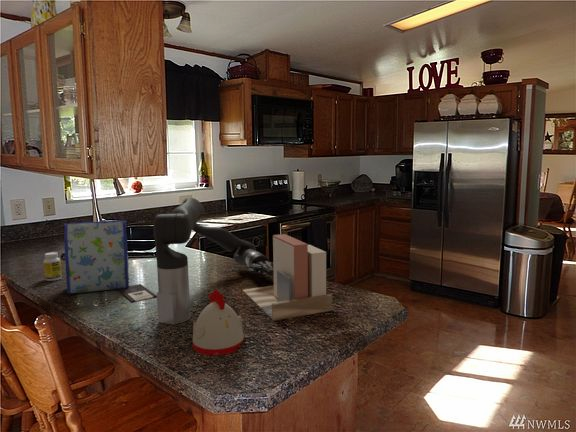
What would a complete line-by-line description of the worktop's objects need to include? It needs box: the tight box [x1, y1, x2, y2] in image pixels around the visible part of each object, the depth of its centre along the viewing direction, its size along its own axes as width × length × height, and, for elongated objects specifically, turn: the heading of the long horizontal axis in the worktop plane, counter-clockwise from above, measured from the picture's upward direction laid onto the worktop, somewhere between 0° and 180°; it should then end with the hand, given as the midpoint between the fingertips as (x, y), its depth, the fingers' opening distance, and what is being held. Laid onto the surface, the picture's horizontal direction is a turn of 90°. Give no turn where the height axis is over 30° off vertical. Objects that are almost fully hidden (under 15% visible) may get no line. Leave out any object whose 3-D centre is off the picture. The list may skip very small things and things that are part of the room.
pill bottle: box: [43, 251, 63, 282], centre depth 178 cm, size 6×6×11 cm
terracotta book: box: [272, 233, 309, 300], centre depth 142 cm, size 18×5×22 cm, turn 24°
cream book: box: [308, 244, 327, 297], centre depth 141 cm, size 12×5×19 cm, turn 23°
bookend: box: [261, 270, 291, 319], centre depth 136 cm, size 10×6×12 cm, turn 23°
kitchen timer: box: [192, 289, 245, 356], centre depth 116 cm, size 14×14×15 cm
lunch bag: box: [63, 219, 130, 294], centre depth 166 cm, size 22×17×26 cm
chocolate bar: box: [116, 283, 157, 303], centre depth 160 cm, size 9×1×18 cm
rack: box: [242, 284, 333, 321], centre depth 148 cm, size 32×20×6 cm, turn 23°
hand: (272, 273), depth 157 cm, fingers closed
